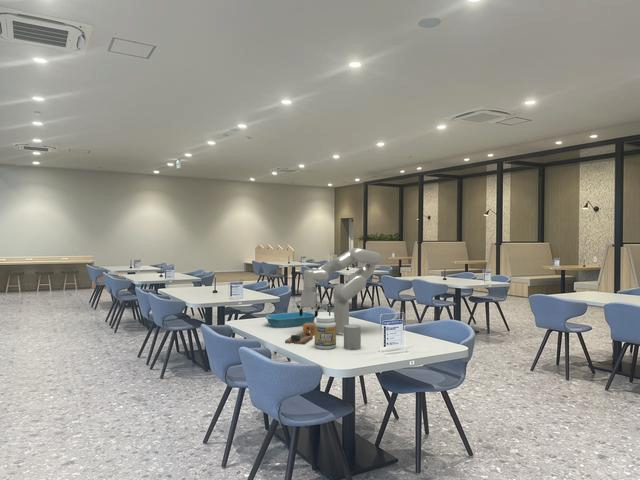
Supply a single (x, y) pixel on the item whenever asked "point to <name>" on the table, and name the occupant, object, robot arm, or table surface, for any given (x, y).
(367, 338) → the table surface
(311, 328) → the lock block
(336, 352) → the table surface
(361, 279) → the robot arm
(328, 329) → the supplement tub
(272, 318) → the casserole dish
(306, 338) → the rail board
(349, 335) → the gray cylinder
